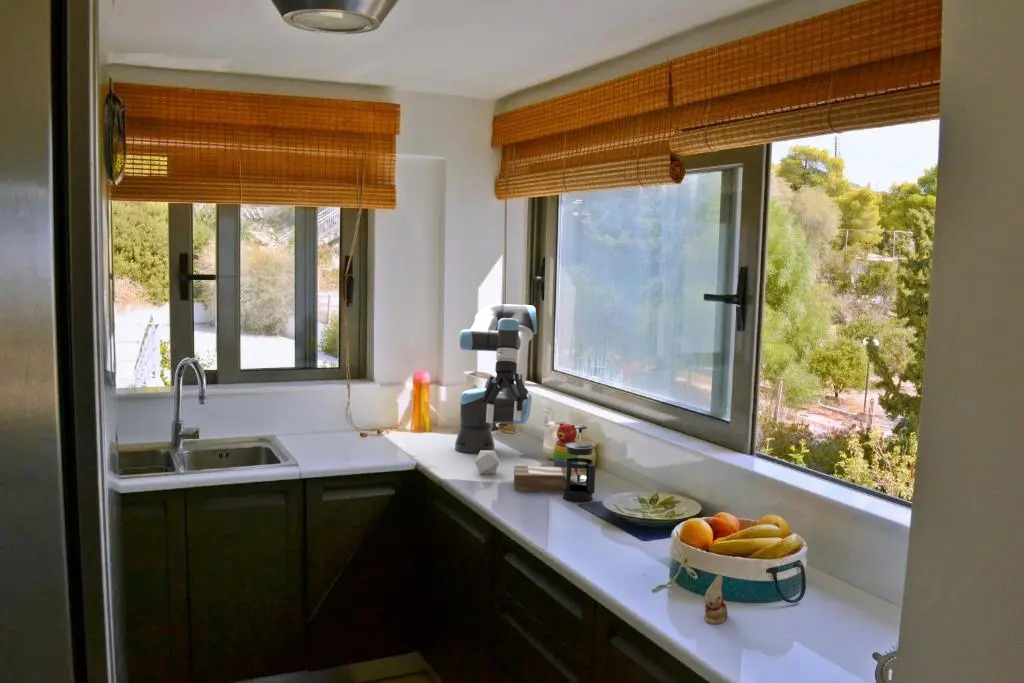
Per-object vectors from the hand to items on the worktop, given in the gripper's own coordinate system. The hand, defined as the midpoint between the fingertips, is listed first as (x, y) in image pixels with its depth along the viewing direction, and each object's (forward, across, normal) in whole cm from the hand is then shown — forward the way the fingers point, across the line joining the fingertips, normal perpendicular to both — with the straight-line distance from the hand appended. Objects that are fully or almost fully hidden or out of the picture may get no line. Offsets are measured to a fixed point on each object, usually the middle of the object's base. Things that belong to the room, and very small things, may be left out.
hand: (502, 421), depth 314 cm
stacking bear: (+17, +14, +17) cm, 28 cm away
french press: (+26, +36, 0) cm, 45 cm away
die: (+18, -4, -2) cm, 19 cm away
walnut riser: (+22, +19, +2) cm, 29 cm away
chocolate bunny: (+55, +112, -43) cm, 132 cm away
